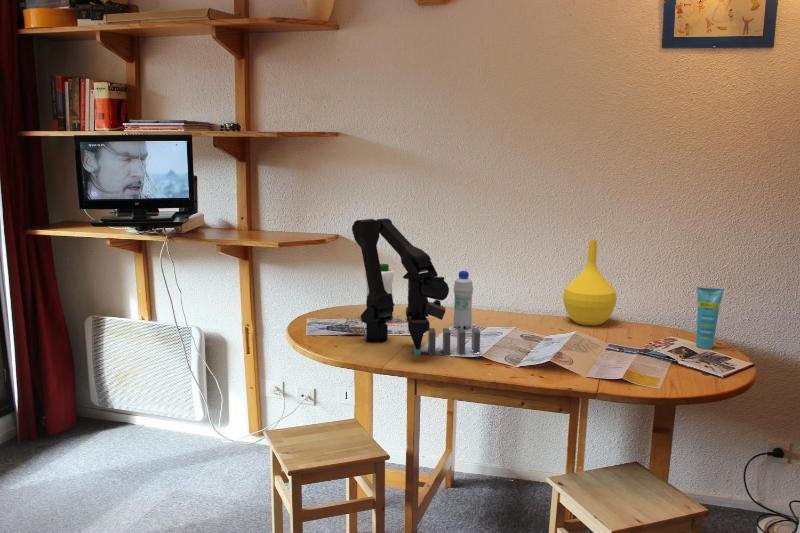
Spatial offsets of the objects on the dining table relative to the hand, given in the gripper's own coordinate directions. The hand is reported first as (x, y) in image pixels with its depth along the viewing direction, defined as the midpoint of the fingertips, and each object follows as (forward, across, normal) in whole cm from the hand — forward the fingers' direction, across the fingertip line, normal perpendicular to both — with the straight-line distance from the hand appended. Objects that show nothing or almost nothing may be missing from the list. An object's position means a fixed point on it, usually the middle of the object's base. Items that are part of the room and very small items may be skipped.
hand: (416, 344), depth 206 cm
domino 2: (+2, 0, -4) cm, 5 cm away
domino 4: (+2, 0, -14) cm, 14 cm away
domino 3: (+2, 0, -9) cm, 9 cm away
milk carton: (+3, +38, +12) cm, 40 cm away
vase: (+3, +34, -64) cm, 72 cm away
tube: (+3, +4, -92) cm, 92 cm away
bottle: (+3, +28, -18) cm, 33 cm away
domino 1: (+2, 0, 0) cm, 3 cm away
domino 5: (+2, 0, -18) cm, 18 cm away
